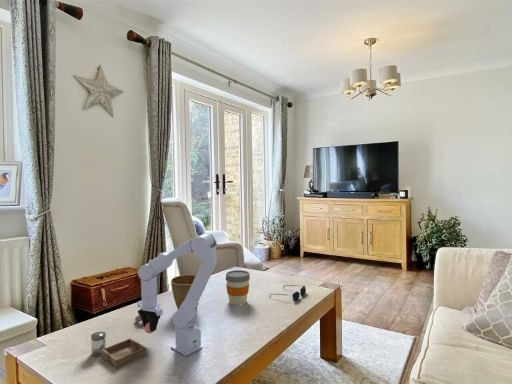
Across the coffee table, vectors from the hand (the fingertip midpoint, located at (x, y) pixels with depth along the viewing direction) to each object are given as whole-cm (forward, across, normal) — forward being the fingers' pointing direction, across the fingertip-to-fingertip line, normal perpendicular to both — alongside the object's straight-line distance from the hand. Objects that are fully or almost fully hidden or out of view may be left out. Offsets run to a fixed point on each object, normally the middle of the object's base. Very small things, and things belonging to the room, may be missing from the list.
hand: (150, 329), depth 124 cm
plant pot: (+6, +13, -28) cm, 31 cm away
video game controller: (+6, +20, -11) cm, 23 cm away
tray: (+6, -1, +11) cm, 12 cm away
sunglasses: (+7, -12, -78) cm, 79 cm away
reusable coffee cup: (+6, +3, -53) cm, 53 cm away
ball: (0, 0, 0) cm, 0 cm away
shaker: (+6, +8, +16) cm, 19 cm away
